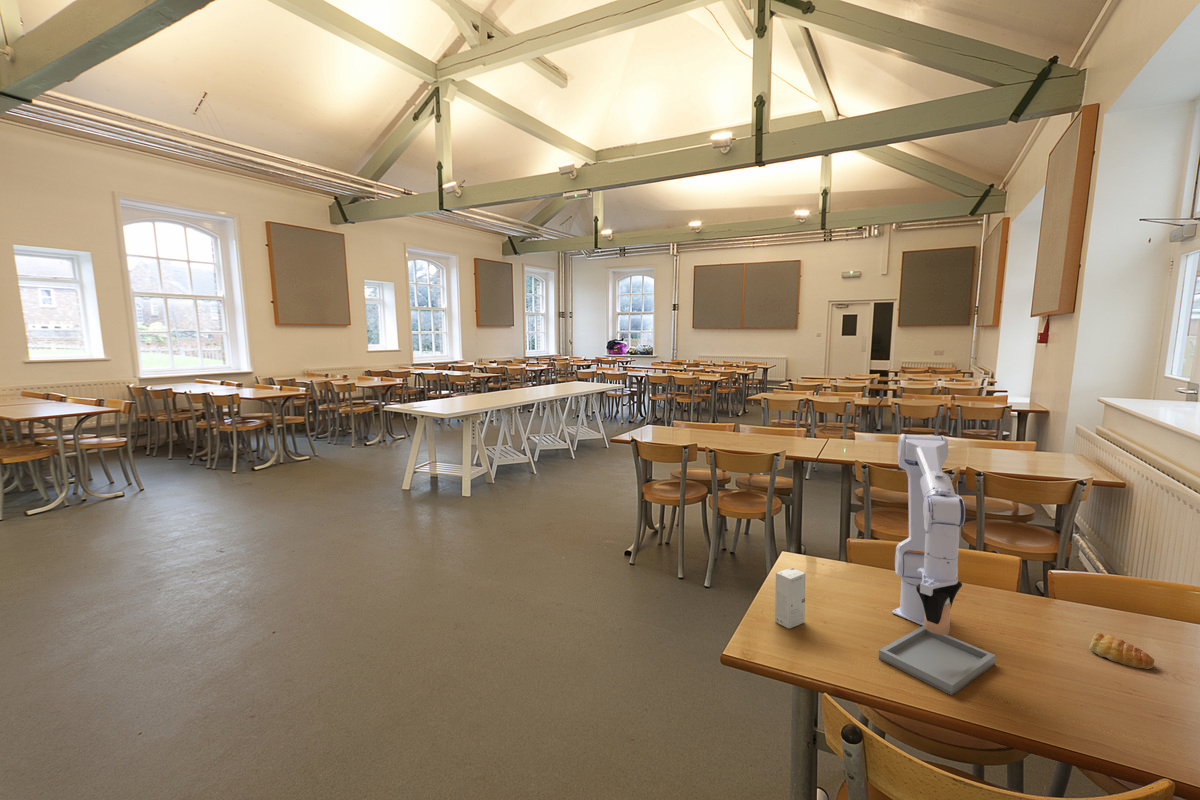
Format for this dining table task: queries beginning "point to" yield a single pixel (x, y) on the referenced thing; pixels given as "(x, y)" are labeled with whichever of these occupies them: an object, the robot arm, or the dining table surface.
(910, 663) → the tray
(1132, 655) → the pastry
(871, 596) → the dining table surface
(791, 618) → the skincare box
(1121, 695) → the dining table surface
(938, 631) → the shaker
